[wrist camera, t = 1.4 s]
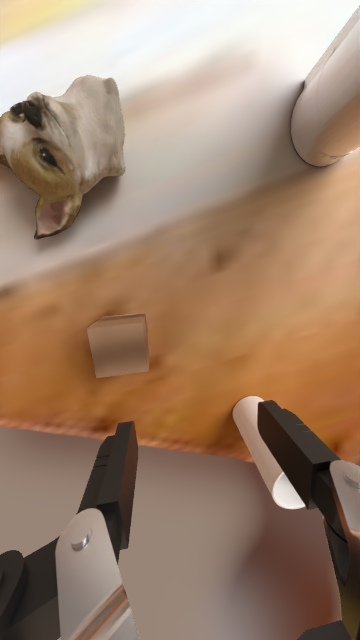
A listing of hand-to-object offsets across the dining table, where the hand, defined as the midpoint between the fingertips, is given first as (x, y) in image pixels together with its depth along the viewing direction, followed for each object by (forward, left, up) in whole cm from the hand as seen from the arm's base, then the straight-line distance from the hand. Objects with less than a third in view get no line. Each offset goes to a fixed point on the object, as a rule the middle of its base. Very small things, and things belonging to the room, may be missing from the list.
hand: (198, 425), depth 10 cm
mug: (+17, +13, -18) cm, 28 cm away
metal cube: (0, -7, -18) cm, 19 cm away
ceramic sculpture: (-20, -10, -18) cm, 29 cm away
